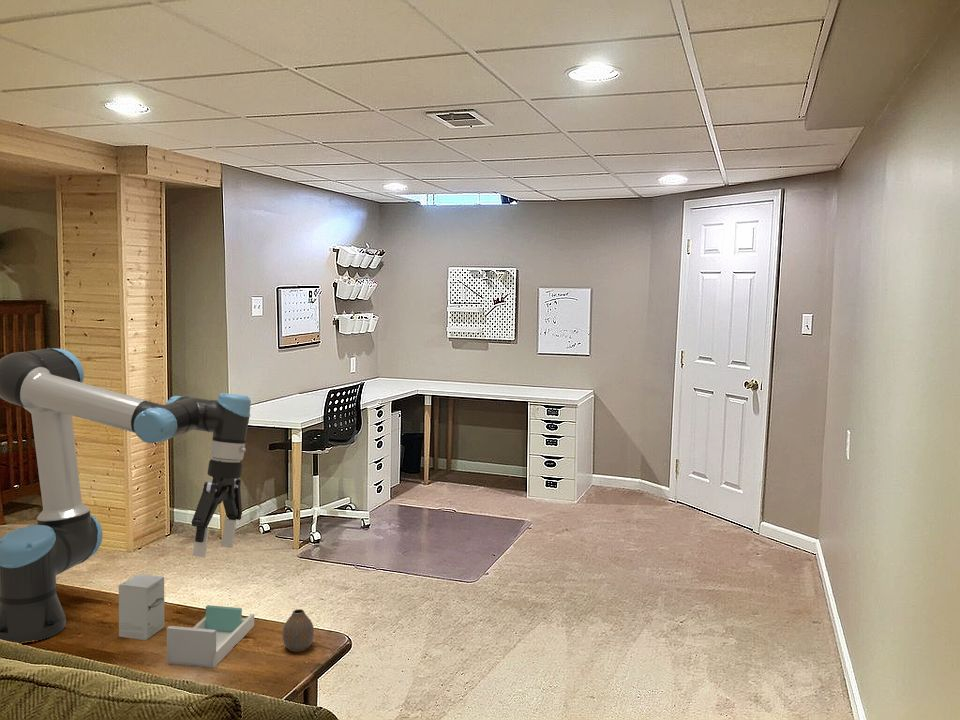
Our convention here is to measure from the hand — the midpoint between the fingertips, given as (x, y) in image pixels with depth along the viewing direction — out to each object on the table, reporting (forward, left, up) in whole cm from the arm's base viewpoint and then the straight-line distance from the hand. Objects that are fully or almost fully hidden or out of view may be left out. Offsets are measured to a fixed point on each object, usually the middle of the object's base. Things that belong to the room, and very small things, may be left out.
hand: (213, 551), depth 183 cm
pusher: (+1, +2, -19) cm, 19 cm away
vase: (+14, +17, -20) cm, 30 cm away
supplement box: (-7, -15, -20) cm, 26 cm away
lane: (+5, -1, -20) cm, 21 cm away
